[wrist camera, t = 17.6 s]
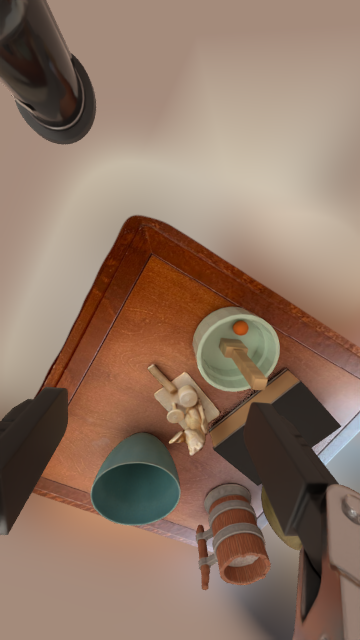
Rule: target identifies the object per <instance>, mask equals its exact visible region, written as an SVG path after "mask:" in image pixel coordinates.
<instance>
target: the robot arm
mask: <svg viewBox="0 0 360 640" xmlns="http://www.w3.org/2000/svg"><path fill="white" fill-rule="evenodd" d="M0 81H1V82H2V84H3V85H4V86H5V87H6V88H7V89H8V90H9V91H10V92H11V93H12V94H13V95H14V97H15V98H14V97H13V96H12V97H13V98H14V99H15V100H16V101H17V102H18V103H19V104H21V105H22V106H23V107H25V108H26V109H27V111H28V112H29V113H30V115H31V116H32V117H33V118H34V119H35V120H36V121H37V122H38V123H39V124H41V125H42V126H44V127H45V128H48V129H50V130H54V131H65V130H69V129H71V128H72V127H74V126H75V125H76V124H77V123H78V122H79V121H80V119H81V117H82V115H83V112H84V108H85V92H84V87H83V84H82V81H81V79H80V77H79V75H78V73H77V71H76V69H75V62H74V60H73V58H72V55H71V53H70V51H69V49H68V47H67V45H66V42H65V40H64V38H63V36H62V34H61V31H60V29H59V27H58V25H57V23H56V21H55V19H54V16H53V14H52V12H51V10H50V8H49V5H48V3H47V1H46V0H0ZM67 424H68V392H67V389H66V388H54V387H45V388H44V389H43V390H42V391H41V392H40V393H39V394H38V395H37V396H36V398H35V399H34V400H33V399H27V400H26V401H24V402H23V403H21V404H19V405H18V406H16V407H14V408H13V409H12V410H11V411H10V412H9V413H8V414H7V415H6V416H5V417H4V418H3V419H2V421H0V535H8V533H9V531H10V530H11V528H12V526H13V524H14V523H15V521H16V519H17V517H18V516H19V514H20V512H21V510H22V509H23V507H24V505H25V503H26V501H27V499H28V498H29V496H30V494H31V493H32V491H33V489H34V487H35V485H36V484H37V482H38V480H39V478H40V477H41V475H42V473H43V471H44V469H45V468H46V466H47V464H48V462H49V461H50V459H51V457H52V455H53V453H54V452H55V450H56V448H57V446H58V445H59V443H60V441H61V439H62V437H63V436H64V433H65V431H66V428H67ZM243 436H244V442H245V445H246V448H247V450H248V452H249V455H250V457H251V459H252V462H253V464H254V466H255V468H256V471H257V473H258V475H259V478H260V480H261V482H262V485H263V487H264V489H265V492H266V494H267V496H268V499H269V501H270V503H271V506H272V508H273V510H274V512H275V515H276V517H277V519H278V522H279V524H280V526H281V529H282V531H283V533H284V536H298V537H299V539H300V541H301V543H302V547H301V549H300V557H299V573H298V588H297V602H296V617H295V628H294V635H293V640H360V494H359V493H357V492H356V491H354V490H352V489H350V488H348V487H345V486H343V485H339V484H338V482H337V481H336V480H335V478H334V477H333V476H332V475H331V474H330V472H329V471H328V469H327V468H326V467H325V465H324V464H323V463H322V461H321V460H320V459H319V458H318V456H317V455H316V454H315V452H314V451H313V450H312V448H311V447H309V445H308V443H307V442H306V441H305V439H304V438H302V435H301V434H300V433H299V432H298V430H297V429H296V428H295V426H294V425H293V424H292V423H290V422H289V421H288V420H287V419H286V418H284V417H283V416H280V415H279V414H278V413H277V411H276V410H275V408H274V407H273V406H272V405H271V404H270V403H262V402H252V403H251V405H250V408H249V412H248V415H247V419H246V423H245V427H244V432H243Z"/></svg>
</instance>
